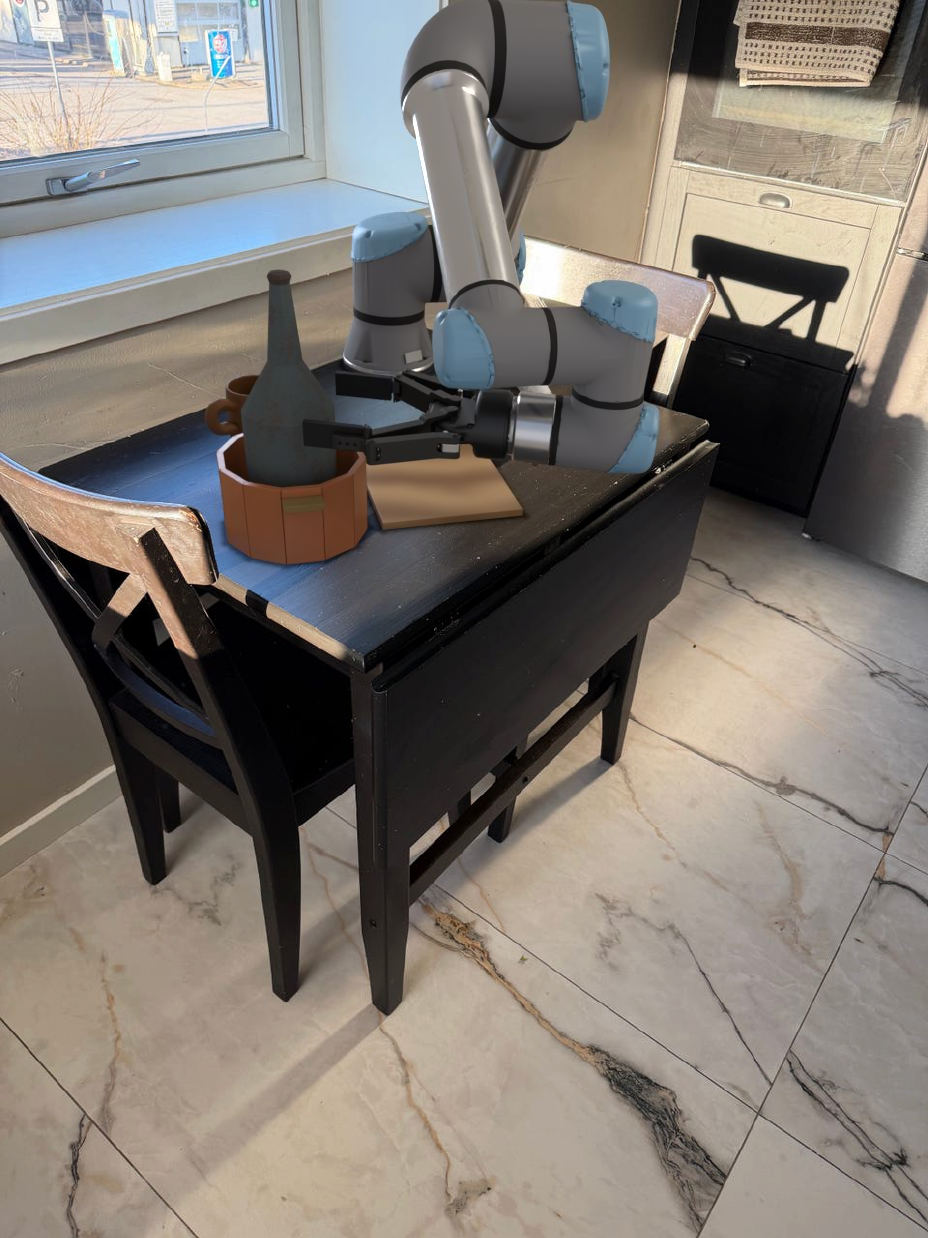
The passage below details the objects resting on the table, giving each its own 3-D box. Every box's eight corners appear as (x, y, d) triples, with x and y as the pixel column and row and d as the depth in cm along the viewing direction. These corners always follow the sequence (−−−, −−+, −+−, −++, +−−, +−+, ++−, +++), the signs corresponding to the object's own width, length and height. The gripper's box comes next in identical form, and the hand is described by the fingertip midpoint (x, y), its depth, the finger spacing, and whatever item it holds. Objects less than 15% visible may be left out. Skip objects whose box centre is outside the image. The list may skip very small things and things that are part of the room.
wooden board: (352, 456, 125) (352, 449, 125) (477, 446, 130) (477, 439, 129) (382, 530, 110) (382, 523, 110) (522, 515, 115) (523, 508, 114)
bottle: (318, 498, 116) (305, 253, 98) (353, 534, 109) (346, 278, 91) (240, 517, 111) (212, 263, 93) (272, 556, 104) (248, 291, 87)
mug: (231, 478, 119) (223, 411, 113) (194, 460, 122) (184, 394, 117) (299, 449, 126) (295, 384, 121) (262, 432, 130) (256, 369, 124)
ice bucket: (220, 491, 116) (211, 422, 110) (349, 480, 120) (347, 412, 114) (233, 580, 100) (223, 505, 94) (381, 564, 104) (380, 491, 99)
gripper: (497, 513, 91) (290, 489, 92) (518, 412, 111) (348, 394, 112) (503, 444, 86) (285, 421, 88) (524, 351, 106) (347, 334, 108)
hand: (320, 406), depth 100 cm, fingers open, 13 cm apart
